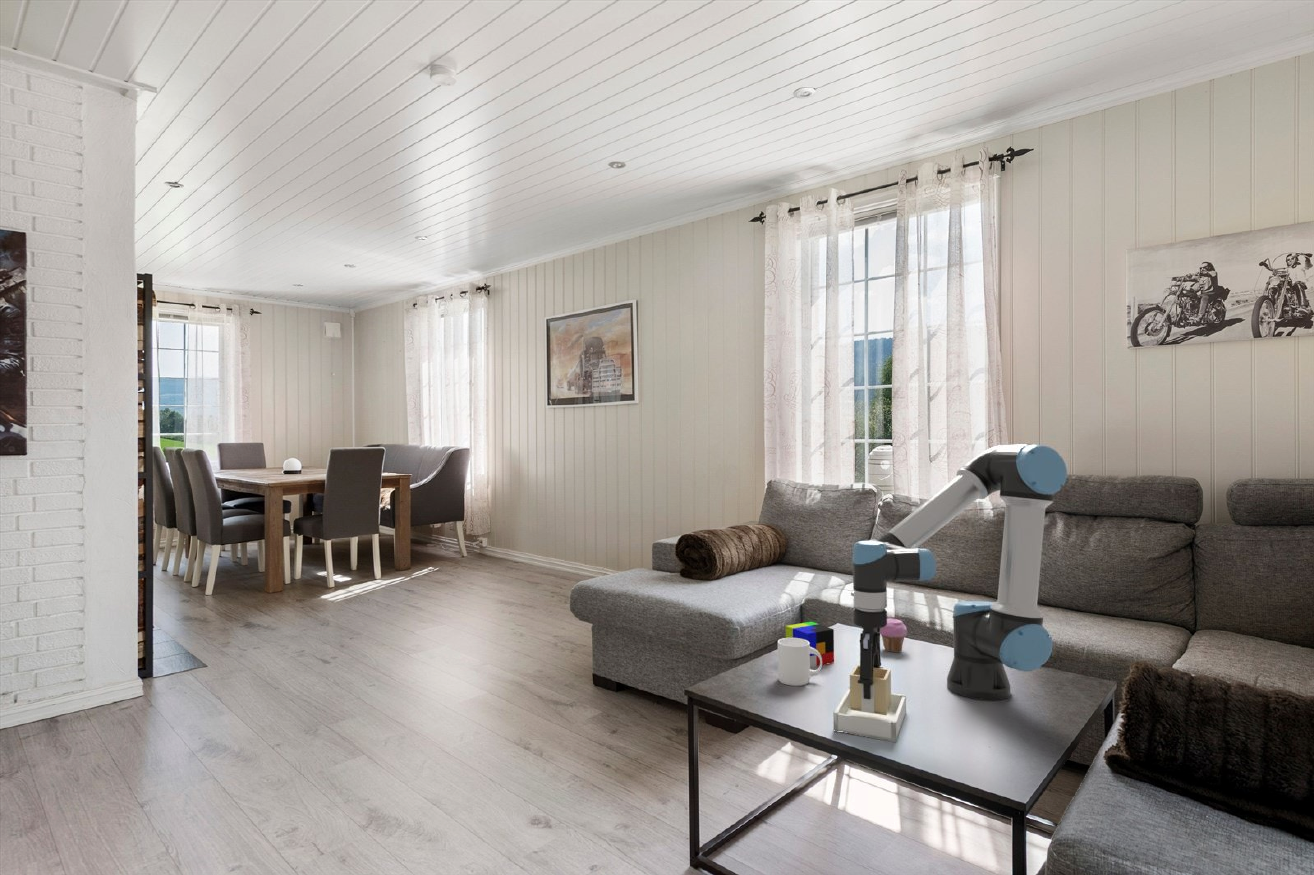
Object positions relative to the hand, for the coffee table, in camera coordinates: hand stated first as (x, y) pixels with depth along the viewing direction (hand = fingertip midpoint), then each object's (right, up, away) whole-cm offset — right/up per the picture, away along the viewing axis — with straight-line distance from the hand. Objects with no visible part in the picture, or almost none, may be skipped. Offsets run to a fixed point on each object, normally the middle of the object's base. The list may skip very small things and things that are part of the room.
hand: (871, 705), depth 161 cm
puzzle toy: (-4, -5, +46) cm, 46 cm away
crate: (0, -4, 0) cm, 4 cm away
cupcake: (+24, -4, +55) cm, 60 cm away
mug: (-11, -4, +28) cm, 30 cm away
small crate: (0, 0, 0) cm, 0 cm away
